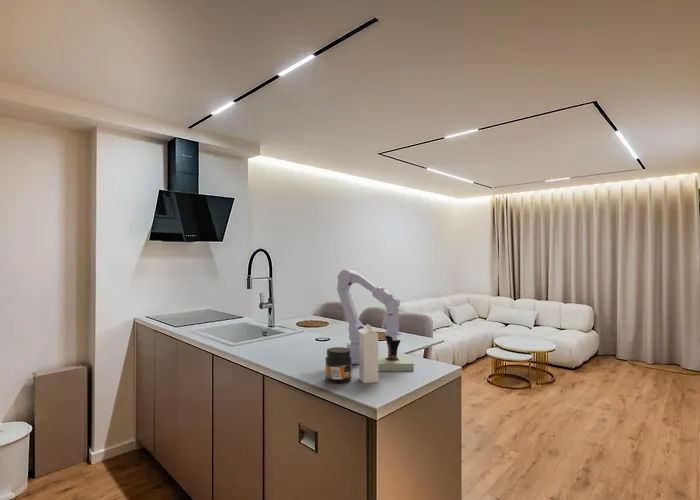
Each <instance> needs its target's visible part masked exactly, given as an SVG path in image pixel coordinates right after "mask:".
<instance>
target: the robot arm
mask: <svg viewBox="0 0 700 500" xmlns="http://www.w3.org/2000/svg"><path fill="white" fill-rule="evenodd" d="M336 278H337V286H336V290H337V294H338V297H339V299H340V300H339V301H340V303H341V305H342V308H343V311H344V314H345V317H346V320H347V322H348V329H347V331H348V333H349V334H348V335H349V336H348V339H349V341H350V342H348V343H346V348H348V349H350V357H351V358H352V361H351V365H352V364H353V365H357V364H358V365H359V333H360V331H362V330H363V329H365V328H366V327H365V326H364V324H363V323H362V321H360V318H359V315H358V313H357V310H356V307H355V305H354V302H353V299H352V296H351V294H350V288H351V286H352V285H353V284H359V285H360V286H362V287H363V288H365V289H366V290H368V291H369V292H371V294H372V297H373V298H374V299H376V300H377V301H378V302H380V303H381V304H383V305H384V307H385V309H386V310H385V311H386V313H385V315H386V316H385V318H386V320H385V335H384V339H385V340H386V344H387V346H388V343H389V345H390V351H391V355H396V354H397V355H398V348H399V345H400V343H401V340H400V339H398V337H399V336H401V335H402V332H399V329H400V323H399V322H400V321H399V319H400V313H399V312H400V311H399V307H400V306H401V300H400V299H399V298H398V296H397V295H394V294H392V293H389V292H388V291H387V290H386V289H385V288H386V287H384V286H376V285H375V284H373V283H372V282H371V281H370V280H368V278H366V277H365V276H364V275H362V273H360V272H358V271H357V270H355V269H352V268H351V269H343V270H340V272H339V273H338V274H337V277H336Z"/></svg>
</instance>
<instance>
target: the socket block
mask: <svg viewBox="0 0 700 500" xmlns="http://www.w3.org/2000/svg"><path fill="white" fill-rule="evenodd" d="M390 371H392V372H395V371H396V372H398V371H399V372H409V371H410V372H412V371H414V362H413V361H412V360H411V359H410V357H409V356H408V355H407V354H397V361H388V354H378V372H390Z"/></svg>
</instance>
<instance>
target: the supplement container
mask: <svg viewBox="0 0 700 500" xmlns="http://www.w3.org/2000/svg"><path fill="white" fill-rule="evenodd" d="M324 361H325V376H324V377H325V380H326V381H327V380H328V381H330V382H329V383H331V382H337V383H336V384H344V383H343V382H346V383H348V382H350V381H351V379H352V364H351V361H352V358H351V357H350V349H348V348H347V347H343V346H342V347H340V346H337V347H335V346H334V347H329V348H327V349H326V357H325V360H324ZM328 381H327V382H328Z"/></svg>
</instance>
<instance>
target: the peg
mask: <svg viewBox="0 0 700 500" xmlns="http://www.w3.org/2000/svg"><path fill="white" fill-rule="evenodd" d="M387 355H388V361H397V355H398V353H397V354H396V355H391V351H390V345H389V343H388V345H387Z"/></svg>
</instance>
